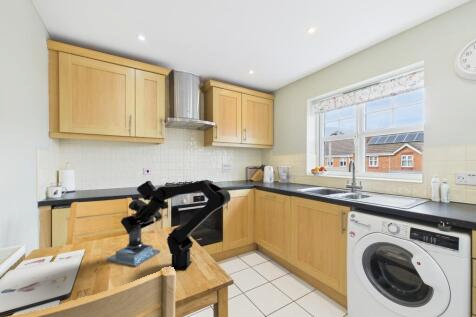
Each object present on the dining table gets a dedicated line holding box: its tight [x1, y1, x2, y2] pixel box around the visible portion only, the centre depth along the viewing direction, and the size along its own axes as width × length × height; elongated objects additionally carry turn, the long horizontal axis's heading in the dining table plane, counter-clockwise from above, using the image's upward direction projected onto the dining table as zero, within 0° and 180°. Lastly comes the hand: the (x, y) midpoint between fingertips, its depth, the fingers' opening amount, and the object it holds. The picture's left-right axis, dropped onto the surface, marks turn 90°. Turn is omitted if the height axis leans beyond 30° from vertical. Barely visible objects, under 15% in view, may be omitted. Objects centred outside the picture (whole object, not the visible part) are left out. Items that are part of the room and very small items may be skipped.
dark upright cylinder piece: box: [126, 212, 144, 249], centre depth 92 cm, size 6×6×14 cm
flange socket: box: [106, 243, 161, 268], centre depth 92 cm, size 16×14×4 cm
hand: (132, 231), depth 93 cm, fingers closed on dark upright cylinder piece, 5 cm apart
